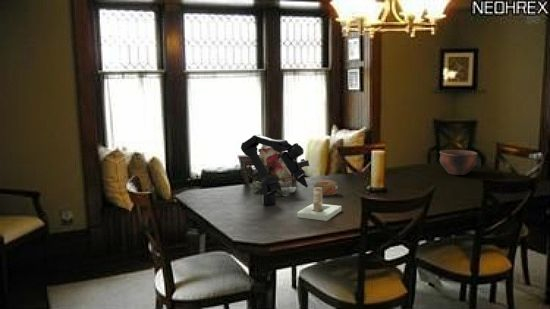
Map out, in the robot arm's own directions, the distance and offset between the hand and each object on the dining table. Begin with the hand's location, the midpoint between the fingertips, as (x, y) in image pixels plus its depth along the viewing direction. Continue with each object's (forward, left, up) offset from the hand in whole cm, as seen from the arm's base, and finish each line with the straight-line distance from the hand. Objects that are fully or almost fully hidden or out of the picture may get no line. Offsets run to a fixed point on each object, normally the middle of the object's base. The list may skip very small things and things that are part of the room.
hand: (306, 186), depth 280 cm
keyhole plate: (+3, -11, -12) cm, 17 cm away
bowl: (+126, +50, -13) cm, 136 cm away
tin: (+21, +27, -13) cm, 36 cm away
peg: (+2, -13, -12) cm, 18 cm away
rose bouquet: (-4, +46, -13) cm, 47 cm away
